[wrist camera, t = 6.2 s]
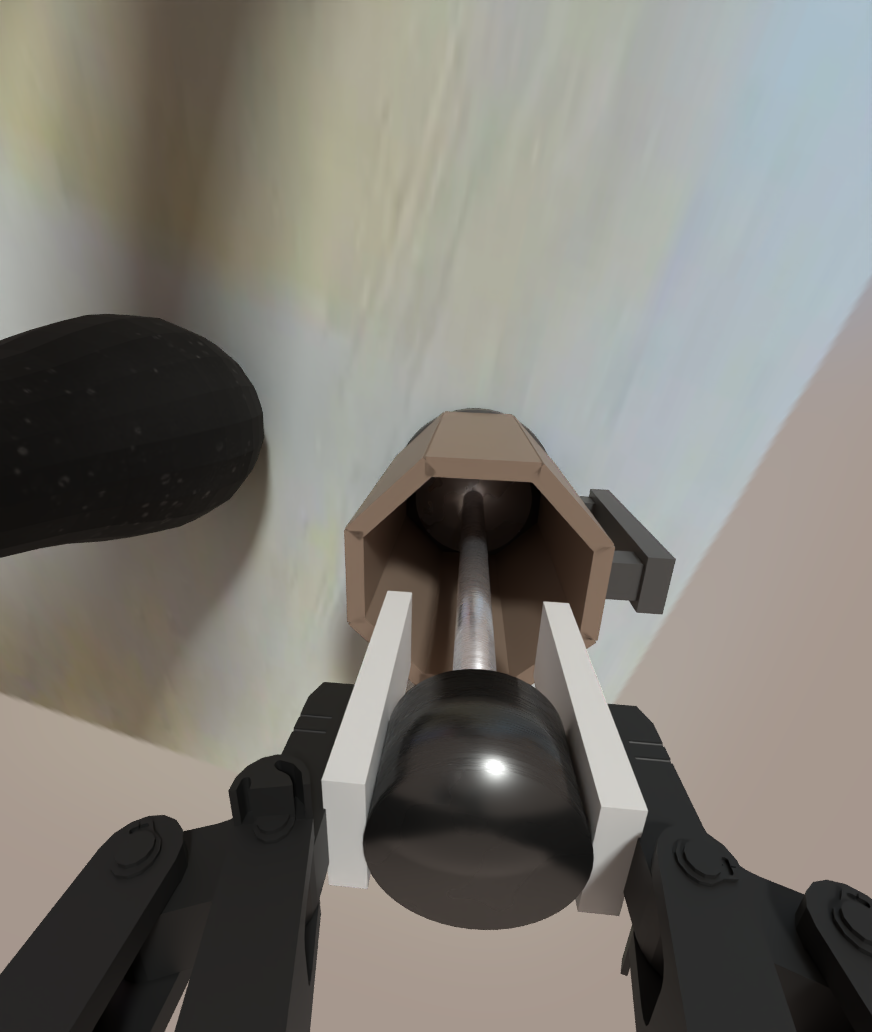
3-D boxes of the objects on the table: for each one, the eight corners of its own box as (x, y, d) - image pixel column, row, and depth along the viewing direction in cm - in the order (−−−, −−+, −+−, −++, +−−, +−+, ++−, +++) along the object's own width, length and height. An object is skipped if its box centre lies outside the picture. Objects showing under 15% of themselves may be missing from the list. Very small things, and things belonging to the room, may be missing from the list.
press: (396, 404, 28) (336, 447, 16) (605, 414, 27) (714, 466, 15) (395, 553, 31) (346, 684, 19) (580, 565, 30) (652, 709, 18)
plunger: (418, 437, 27) (268, 683, 7) (536, 443, 26) (727, 721, 7) (415, 544, 29) (298, 953, 9) (524, 551, 29) (637, 992, 9)
